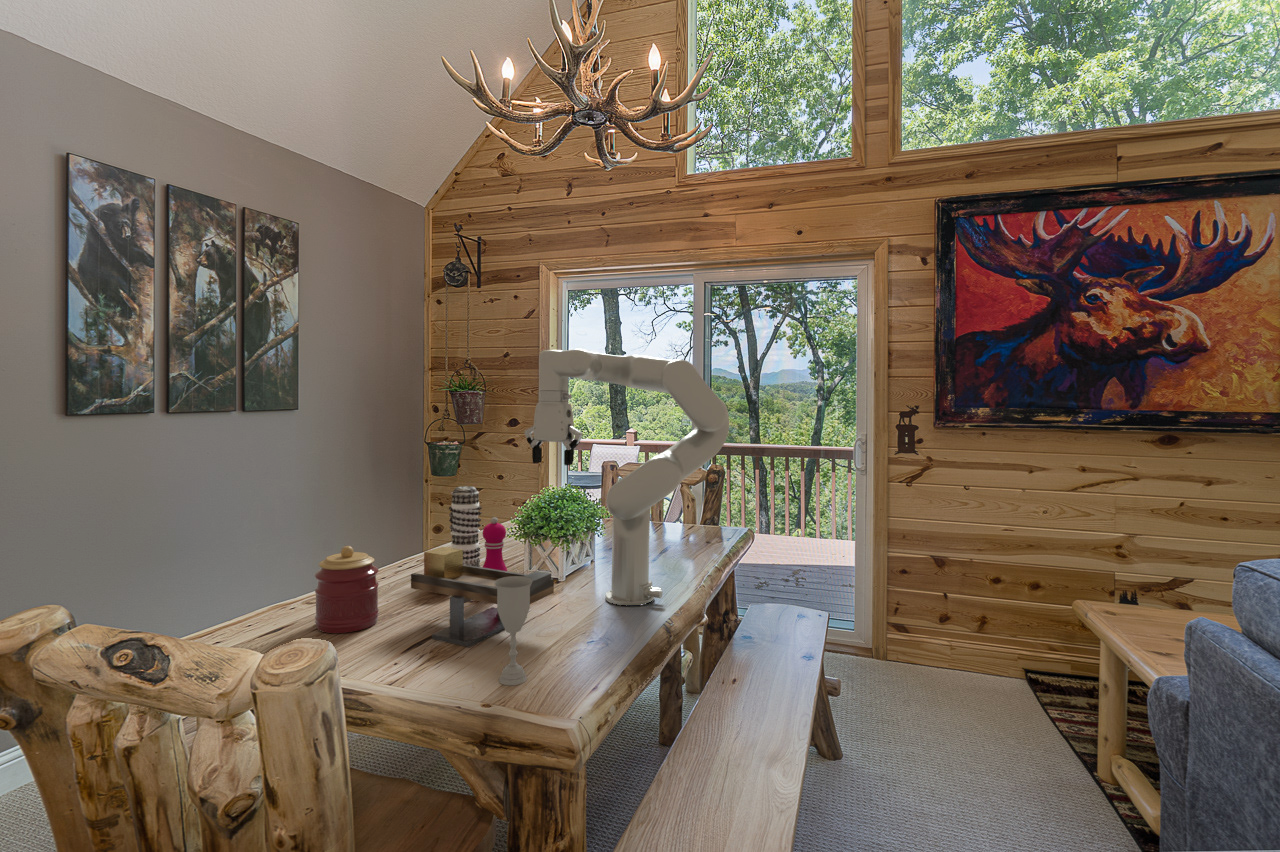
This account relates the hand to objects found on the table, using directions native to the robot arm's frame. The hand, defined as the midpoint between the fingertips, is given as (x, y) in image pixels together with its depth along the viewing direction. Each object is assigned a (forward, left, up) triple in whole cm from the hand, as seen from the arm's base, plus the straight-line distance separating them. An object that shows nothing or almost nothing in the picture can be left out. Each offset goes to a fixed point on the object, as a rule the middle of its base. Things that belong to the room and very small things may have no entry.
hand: (552, 463), depth 166 cm
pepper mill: (+14, +6, -34) cm, 38 cm away
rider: (+11, +28, -24) cm, 39 cm away
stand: (0, +28, -34) cm, 44 cm away
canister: (+28, +40, -34) cm, 60 cm away
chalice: (-22, +46, -34) cm, 62 cm away
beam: (0, +28, -26) cm, 38 cm away
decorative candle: (+34, -6, -34) cm, 49 cm away
